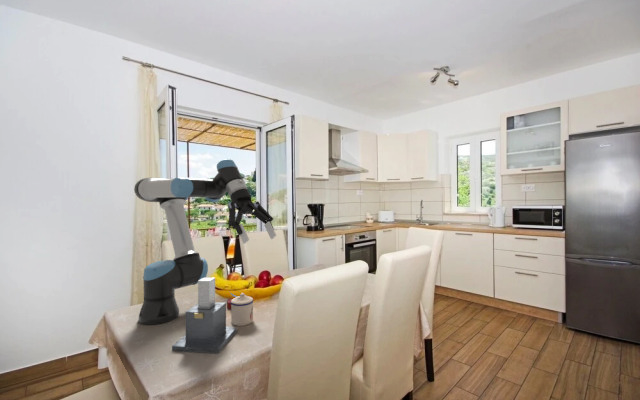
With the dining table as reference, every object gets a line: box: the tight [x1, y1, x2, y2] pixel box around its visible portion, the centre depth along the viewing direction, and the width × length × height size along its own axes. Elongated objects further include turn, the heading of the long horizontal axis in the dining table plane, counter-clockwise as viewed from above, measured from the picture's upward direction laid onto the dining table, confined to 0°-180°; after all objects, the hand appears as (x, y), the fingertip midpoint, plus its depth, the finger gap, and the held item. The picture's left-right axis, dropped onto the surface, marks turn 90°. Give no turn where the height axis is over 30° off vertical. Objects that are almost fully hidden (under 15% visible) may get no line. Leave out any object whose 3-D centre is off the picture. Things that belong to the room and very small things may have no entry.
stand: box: [171, 301, 238, 354], centre depth 104 cm, size 16×16×12 cm
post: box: [197, 276, 216, 310], centre depth 104 cm, size 4×4×20 cm
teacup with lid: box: [230, 292, 254, 327], centre depth 121 cm, size 12×9×12 cm
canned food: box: [226, 293, 238, 310], centre depth 138 cm, size 11×10×10 cm
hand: (260, 239), depth 108 cm, fingers open, 13 cm apart
